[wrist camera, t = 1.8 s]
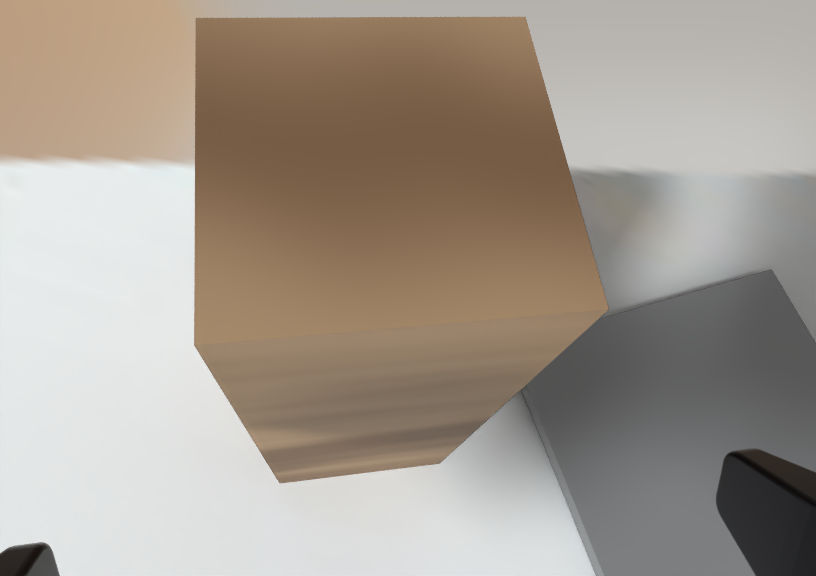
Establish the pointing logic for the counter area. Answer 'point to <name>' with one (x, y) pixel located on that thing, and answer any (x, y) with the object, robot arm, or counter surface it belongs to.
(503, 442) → the counter surface
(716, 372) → the coaster
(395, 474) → the counter surface
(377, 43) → the block
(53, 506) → the counter surface
